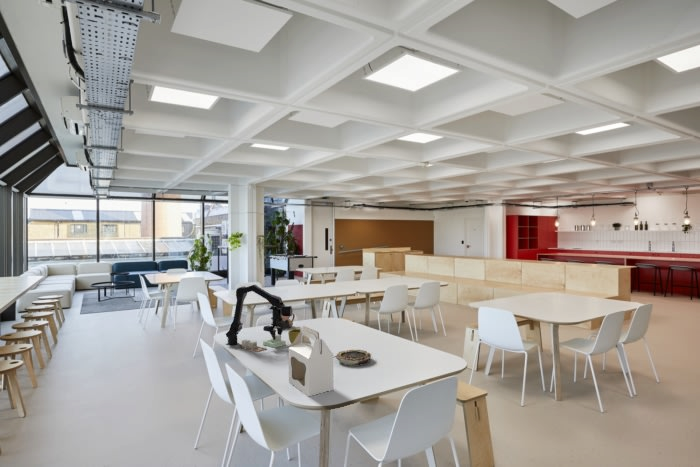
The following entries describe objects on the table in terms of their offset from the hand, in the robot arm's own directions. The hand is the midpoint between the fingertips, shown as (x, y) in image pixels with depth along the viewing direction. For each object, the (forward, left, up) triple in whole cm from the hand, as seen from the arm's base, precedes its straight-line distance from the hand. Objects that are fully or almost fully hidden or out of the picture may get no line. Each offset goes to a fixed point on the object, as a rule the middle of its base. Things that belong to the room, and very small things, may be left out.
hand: (276, 339), depth 263 cm
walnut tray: (-8, -14, -4) cm, 17 cm away
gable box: (+67, -39, -5) cm, 77 cm away
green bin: (-2, 0, -4) cm, 5 cm away
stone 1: (-14, -14, -4) cm, 21 cm away
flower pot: (+7, +12, -5) cm, 14 cm away
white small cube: (-8, -14, -4) cm, 17 cm away
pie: (+60, +5, -5) cm, 61 cm away
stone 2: (0, 0, -1) cm, 1 cm away
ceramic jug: (-36, +42, -5) cm, 55 cm away
